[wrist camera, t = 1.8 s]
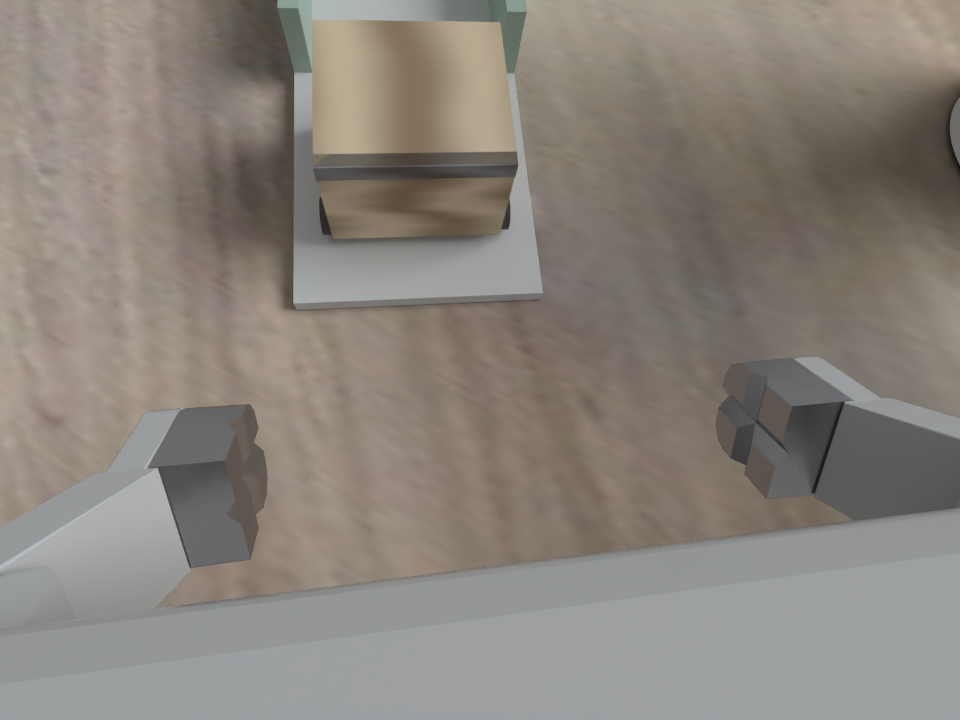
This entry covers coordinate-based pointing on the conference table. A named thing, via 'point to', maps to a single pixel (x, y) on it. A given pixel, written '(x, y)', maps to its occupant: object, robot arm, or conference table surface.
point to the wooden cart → (411, 128)
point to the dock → (404, 260)
